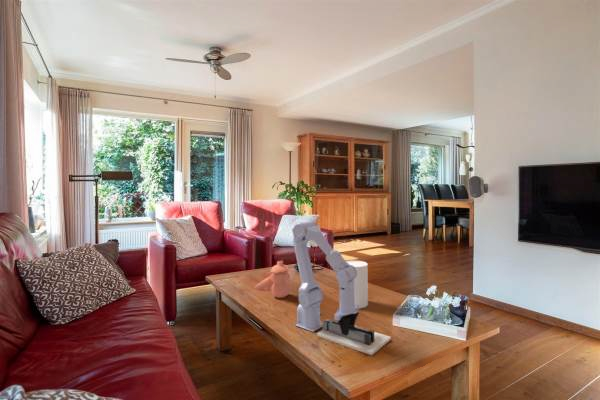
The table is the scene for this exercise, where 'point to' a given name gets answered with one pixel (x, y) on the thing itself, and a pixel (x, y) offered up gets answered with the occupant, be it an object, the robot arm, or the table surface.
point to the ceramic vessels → (276, 281)
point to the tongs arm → (359, 330)
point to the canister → (360, 283)
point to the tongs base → (352, 333)
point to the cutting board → (375, 346)
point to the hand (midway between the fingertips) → (347, 332)
